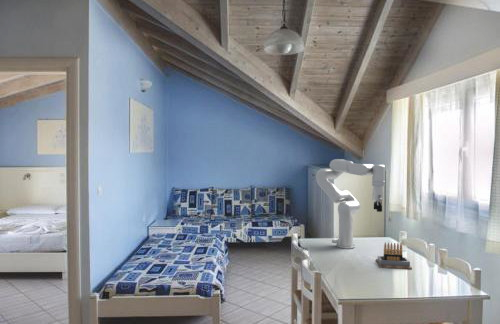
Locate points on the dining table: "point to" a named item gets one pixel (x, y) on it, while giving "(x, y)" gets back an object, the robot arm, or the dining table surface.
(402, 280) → the dining table surface
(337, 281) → the dining table surface
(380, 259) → the pocket board
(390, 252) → the ammunition clip
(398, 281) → the dining table surface
